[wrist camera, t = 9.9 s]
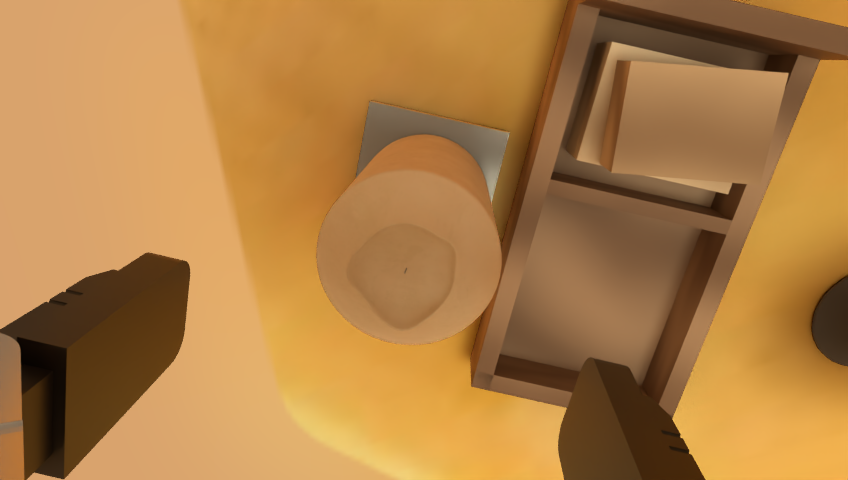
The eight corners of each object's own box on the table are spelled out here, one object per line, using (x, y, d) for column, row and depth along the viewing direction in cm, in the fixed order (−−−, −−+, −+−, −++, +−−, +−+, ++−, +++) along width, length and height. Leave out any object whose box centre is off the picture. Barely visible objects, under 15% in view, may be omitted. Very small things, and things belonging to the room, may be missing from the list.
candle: (475, 265, 26) (485, 383, 17) (354, 245, 26) (295, 352, 17) (498, 144, 24) (524, 197, 15) (369, 123, 24) (313, 163, 15)
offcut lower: (597, 43, 23) (612, 41, 21) (742, 76, 23) (773, 78, 21) (565, 150, 25) (576, 159, 22) (703, 181, 25) (728, 194, 22)
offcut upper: (617, 60, 21) (630, 60, 19) (762, 71, 21) (788, 72, 19) (599, 163, 22) (611, 172, 21) (736, 174, 22) (760, 185, 20)
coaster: (371, 100, 25) (369, 101, 24) (508, 131, 25) (509, 133, 24) (343, 251, 27) (341, 255, 26) (469, 279, 27) (469, 284, 26)
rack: (571, -12, 23) (601, -30, 18) (791, 38, 23) (877, 34, 18) (470, 358, 28) (472, 419, 24) (650, 398, 28) (688, 467, 24)
